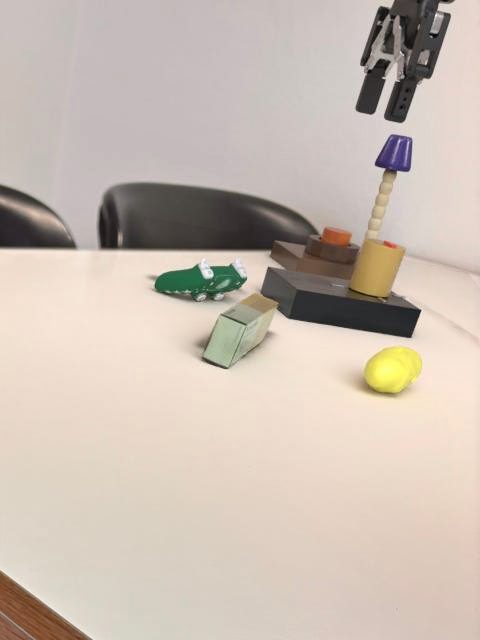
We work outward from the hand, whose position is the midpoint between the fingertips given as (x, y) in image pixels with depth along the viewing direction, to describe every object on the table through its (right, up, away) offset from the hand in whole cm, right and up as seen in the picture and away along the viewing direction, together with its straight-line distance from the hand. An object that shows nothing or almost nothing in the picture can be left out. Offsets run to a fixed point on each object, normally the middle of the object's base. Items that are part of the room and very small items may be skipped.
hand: (378, 117), depth 117 cm
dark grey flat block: (-5, -22, -1) cm, 23 cm away
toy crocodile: (-21, -22, -5) cm, 30 cm away
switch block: (0, -10, +21) cm, 23 cm away
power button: (+1, -7, +19) cm, 20 cm away
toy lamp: (+8, -6, +31) cm, 32 cm away
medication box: (-21, -32, -22) cm, 44 cm away
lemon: (-8, -36, -24) cm, 44 cm away
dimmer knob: (-2, -20, -2) cm, 20 cm away
